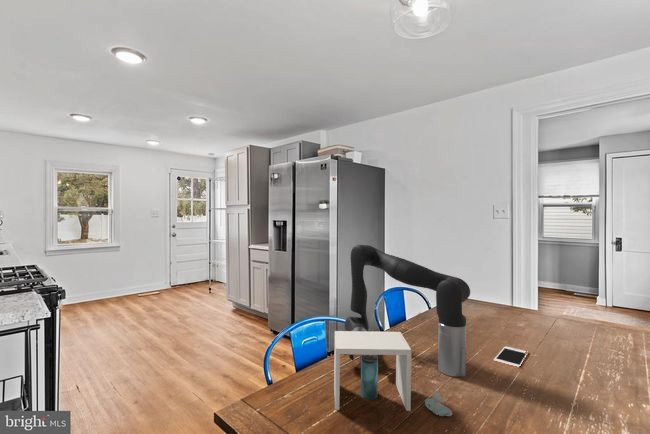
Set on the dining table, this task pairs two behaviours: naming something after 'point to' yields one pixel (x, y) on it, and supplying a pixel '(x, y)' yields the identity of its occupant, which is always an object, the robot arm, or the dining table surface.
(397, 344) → the low shelf
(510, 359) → the cell phone
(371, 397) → the teal bottle
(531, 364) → the dining table surface
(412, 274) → the robot arm
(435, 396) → the pacifier
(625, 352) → the dining table surface
